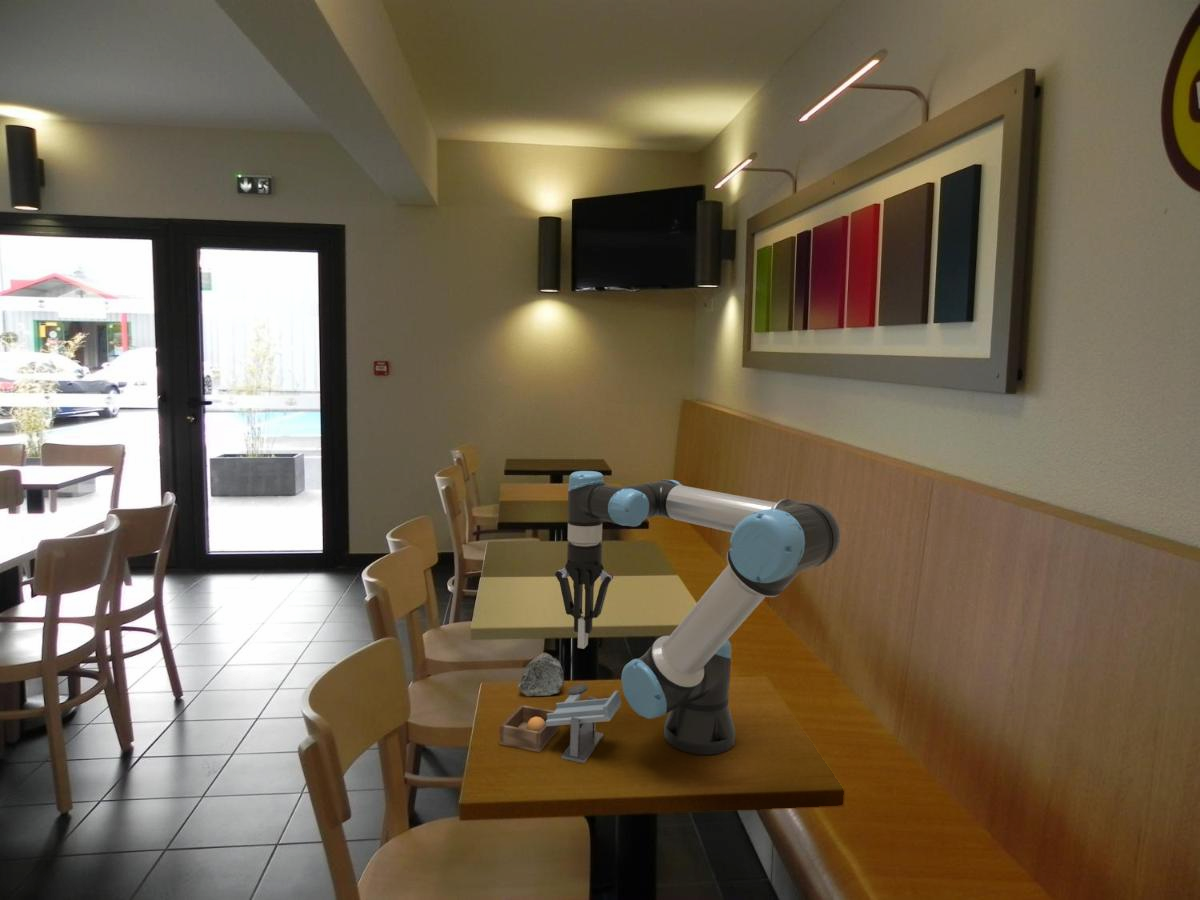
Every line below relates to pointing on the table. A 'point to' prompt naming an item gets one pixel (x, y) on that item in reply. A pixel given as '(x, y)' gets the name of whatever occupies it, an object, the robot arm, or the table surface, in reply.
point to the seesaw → (583, 708)
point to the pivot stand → (581, 740)
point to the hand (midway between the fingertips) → (582, 646)
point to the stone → (542, 676)
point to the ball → (535, 723)
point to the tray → (519, 735)
